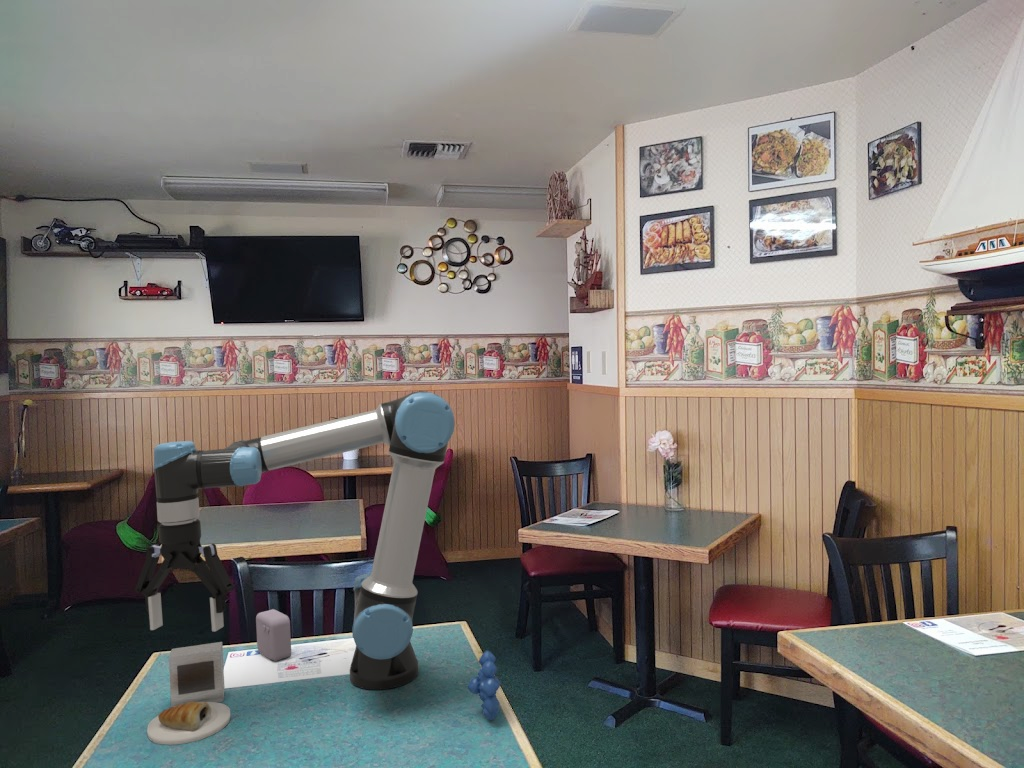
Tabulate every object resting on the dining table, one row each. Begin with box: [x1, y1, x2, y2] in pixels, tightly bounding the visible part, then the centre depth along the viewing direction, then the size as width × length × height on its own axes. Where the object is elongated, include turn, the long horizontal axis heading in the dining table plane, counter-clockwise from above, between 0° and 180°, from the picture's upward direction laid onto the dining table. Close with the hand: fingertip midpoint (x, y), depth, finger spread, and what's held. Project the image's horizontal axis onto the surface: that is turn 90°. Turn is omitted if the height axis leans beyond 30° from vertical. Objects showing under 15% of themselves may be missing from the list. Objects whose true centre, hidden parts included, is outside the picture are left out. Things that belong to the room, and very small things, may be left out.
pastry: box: [157, 702, 211, 731], centre depth 145 cm, size 9×7×4 cm
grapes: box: [466, 650, 502, 721], centre depth 146 cm, size 12×7×12 cm, turn 6°
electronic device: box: [255, 608, 292, 662], centre depth 181 cm, size 10×5×10 cm, turn 43°
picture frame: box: [168, 641, 226, 708], centre depth 157 cm, size 10×6×11 cm, turn 108°
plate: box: [146, 702, 231, 746], centre depth 146 cm, size 15×15×1 cm
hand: (187, 628), depth 146 cm, fingers open, 13 cm apart
